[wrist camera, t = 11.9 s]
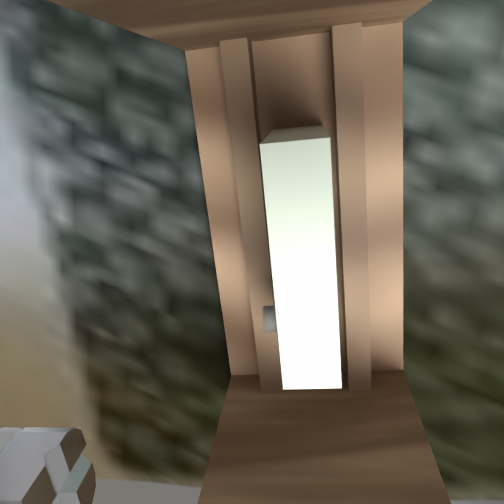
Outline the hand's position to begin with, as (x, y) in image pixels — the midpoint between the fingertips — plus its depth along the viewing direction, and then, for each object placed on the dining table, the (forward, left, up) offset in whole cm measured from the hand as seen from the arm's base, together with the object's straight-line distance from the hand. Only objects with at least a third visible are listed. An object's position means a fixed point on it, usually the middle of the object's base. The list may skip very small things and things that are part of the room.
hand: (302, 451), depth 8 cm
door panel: (+1, 0, -16) cm, 16 cm away
